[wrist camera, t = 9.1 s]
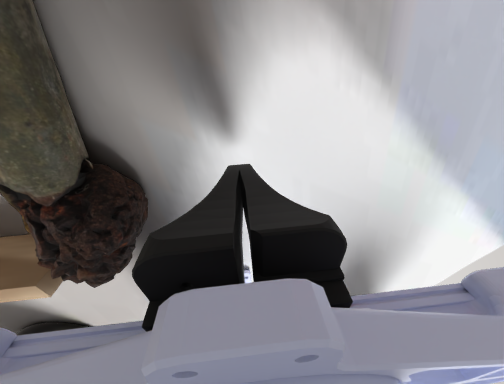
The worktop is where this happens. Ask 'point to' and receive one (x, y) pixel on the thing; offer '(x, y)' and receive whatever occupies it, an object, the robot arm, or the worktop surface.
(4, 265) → the light wooden open box
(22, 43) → the metal pipe
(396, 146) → the worktop surface
